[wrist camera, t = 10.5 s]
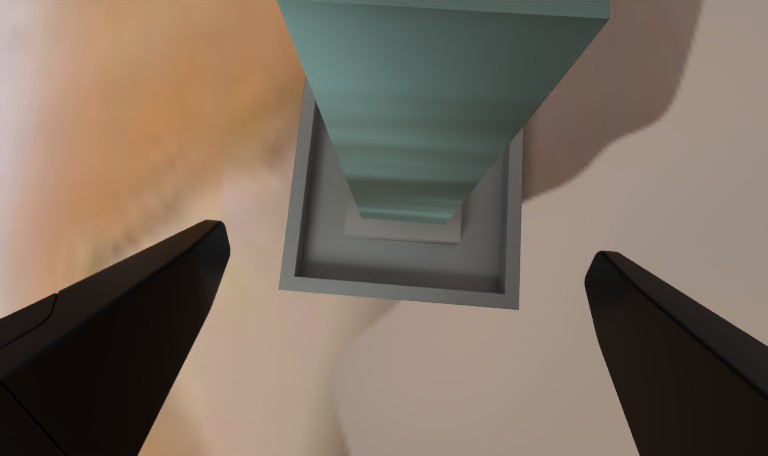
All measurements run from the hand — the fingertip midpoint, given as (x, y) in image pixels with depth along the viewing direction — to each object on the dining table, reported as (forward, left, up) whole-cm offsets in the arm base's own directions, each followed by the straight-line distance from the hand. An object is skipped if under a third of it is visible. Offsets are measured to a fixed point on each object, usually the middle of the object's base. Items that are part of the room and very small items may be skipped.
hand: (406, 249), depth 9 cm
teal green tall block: (+4, 0, -8) cm, 9 cm away
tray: (+4, 0, -9) cm, 10 cm away
